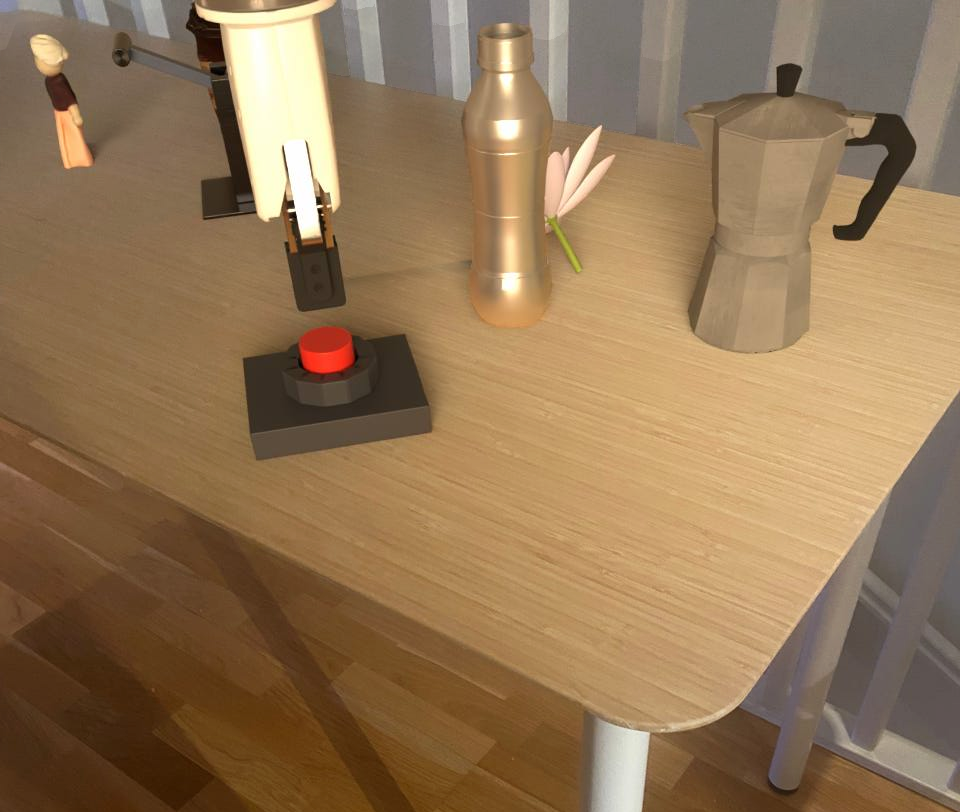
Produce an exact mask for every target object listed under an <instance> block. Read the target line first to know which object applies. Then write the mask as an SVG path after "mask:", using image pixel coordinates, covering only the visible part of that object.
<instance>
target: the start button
mask: <svg viewBox="0 0 960 812" xmlns="http://www.w3.org/2000/svg"><path fill="white" fill-rule="evenodd" d="M351 335H352V334H351V333H350V332H349V331H348V330H347V329H345V328H342V327H339V326H321V327H316V328H313V329H310V330H308V331H306V332H305V333H303V334H302V335H301V336H300V338H299V340H298V342H299V349H300V354H301V359H302V364H303V368H304V369H305V370H306V371H307V372H308V373H315V374H323V375H324V374H331V373H338V372H341V371H343V370H345V369H347V368H350V367H352V366H353V364H354V362H355V355H354V349H353V342H352V336H351Z"/></svg>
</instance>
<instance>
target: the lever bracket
mask: <svg viewBox="0 0 960 812" xmlns="http://www.w3.org/2000/svg"><path fill="white" fill-rule="evenodd" d="M209 68H210V72H211V73H213V74H216V75H218V76H214V77H210V80H211V85H212V90H213V94H214V99H215V104H216V108H217V113H218V117H219V121H218V123H219V122H220V124H219V127H220V126H221V128H220V132H221V131H222V132H221V135H222V141H223V144H224V148H225V149H224V150H225V153H226V158H227V163H228V168H229V171H230V176H226V177H225V176H223V177H217V178H209V179H202V180H200V189H201V210H202V220H203V221H208V220H217V219H224V218H232V217H238V216H245V215H246V216H247V215H253V214H257V210H256V205H255V201H254V196H253V191H252V186H251V182H250V177H249V172H248V168H247V163H246V158H245V154H244V149H243V144H242V140H241V135H240V130H239V126H238V121H237V116H236V111H235V107H234V102H233V97H232V92H231V87H230V82H229V77H228V75H224V74H225V69H226V68H227V66H226V61H224V62H215V63H209Z"/></svg>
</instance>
